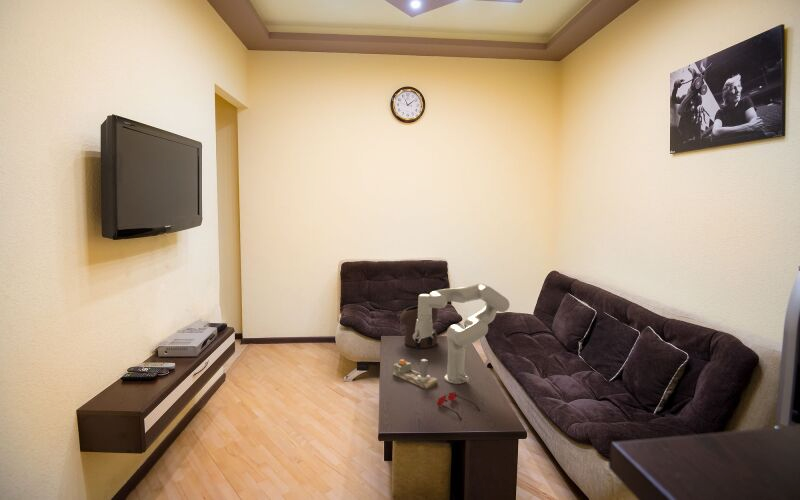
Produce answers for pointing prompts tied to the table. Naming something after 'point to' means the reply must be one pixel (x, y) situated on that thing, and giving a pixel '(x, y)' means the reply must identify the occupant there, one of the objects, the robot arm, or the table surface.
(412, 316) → the vase
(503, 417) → the table surface
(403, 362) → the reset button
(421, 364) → the carriage
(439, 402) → the glasses
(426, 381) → the board
